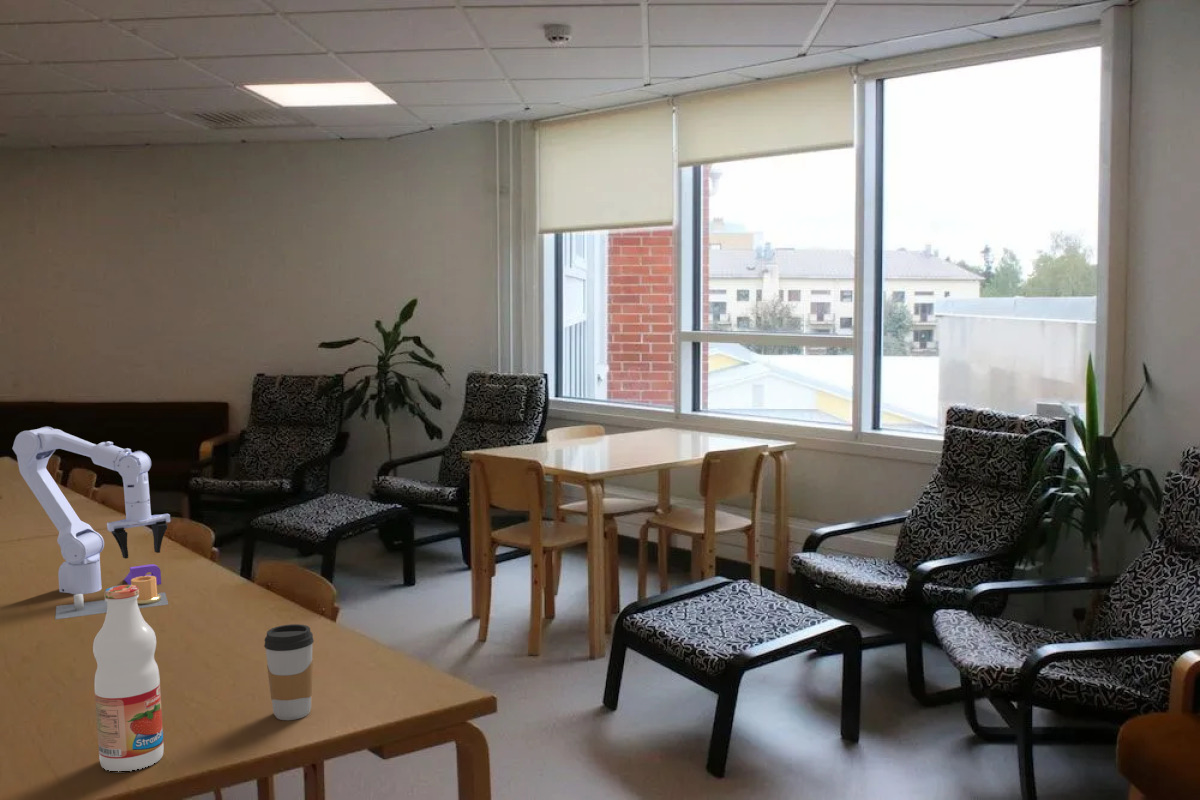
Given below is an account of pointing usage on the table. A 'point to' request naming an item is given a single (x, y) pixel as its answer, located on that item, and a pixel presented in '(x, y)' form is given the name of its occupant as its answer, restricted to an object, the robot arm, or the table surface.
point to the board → (93, 607)
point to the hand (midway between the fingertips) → (141, 555)
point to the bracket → (144, 573)
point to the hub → (149, 600)
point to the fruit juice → (127, 686)
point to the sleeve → (145, 587)
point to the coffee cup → (290, 670)
